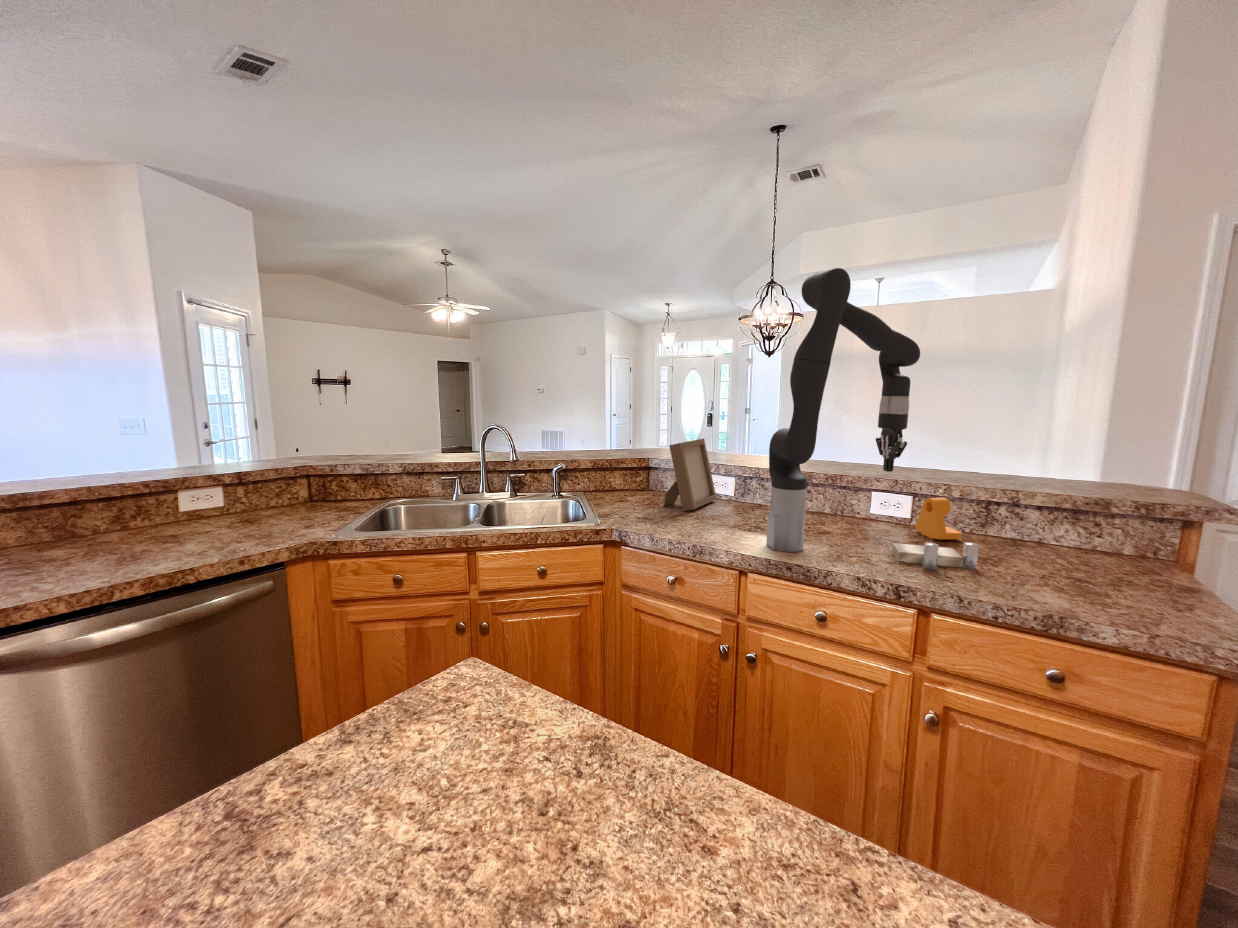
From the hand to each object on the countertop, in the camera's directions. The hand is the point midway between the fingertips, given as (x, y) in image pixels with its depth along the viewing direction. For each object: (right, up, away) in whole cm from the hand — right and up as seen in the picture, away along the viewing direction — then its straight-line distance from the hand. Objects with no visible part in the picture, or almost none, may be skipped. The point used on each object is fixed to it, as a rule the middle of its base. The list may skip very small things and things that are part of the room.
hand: (887, 471), depth 148 cm
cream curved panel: (+1, -23, -17) cm, 29 cm away
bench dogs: (+3, -24, -23) cm, 33 cm away
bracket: (+17, -20, +4) cm, 27 cm away
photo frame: (-53, -14, +47) cm, 72 cm away
